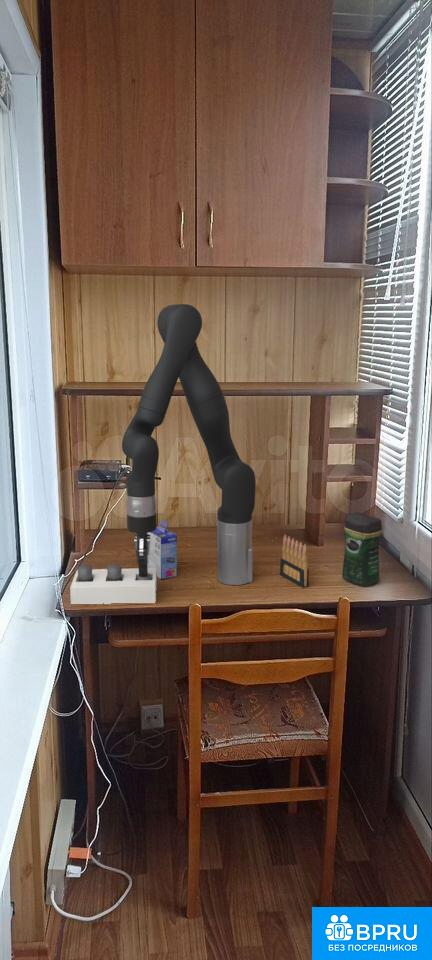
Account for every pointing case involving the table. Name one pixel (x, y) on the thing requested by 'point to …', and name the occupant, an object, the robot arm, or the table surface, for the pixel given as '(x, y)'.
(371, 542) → the coffee jar
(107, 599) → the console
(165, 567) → the ink cartridge box
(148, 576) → the knob
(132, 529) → the robot arm
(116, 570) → the knob middle
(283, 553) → the ammunition clip
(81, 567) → the knob
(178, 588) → the table surface
